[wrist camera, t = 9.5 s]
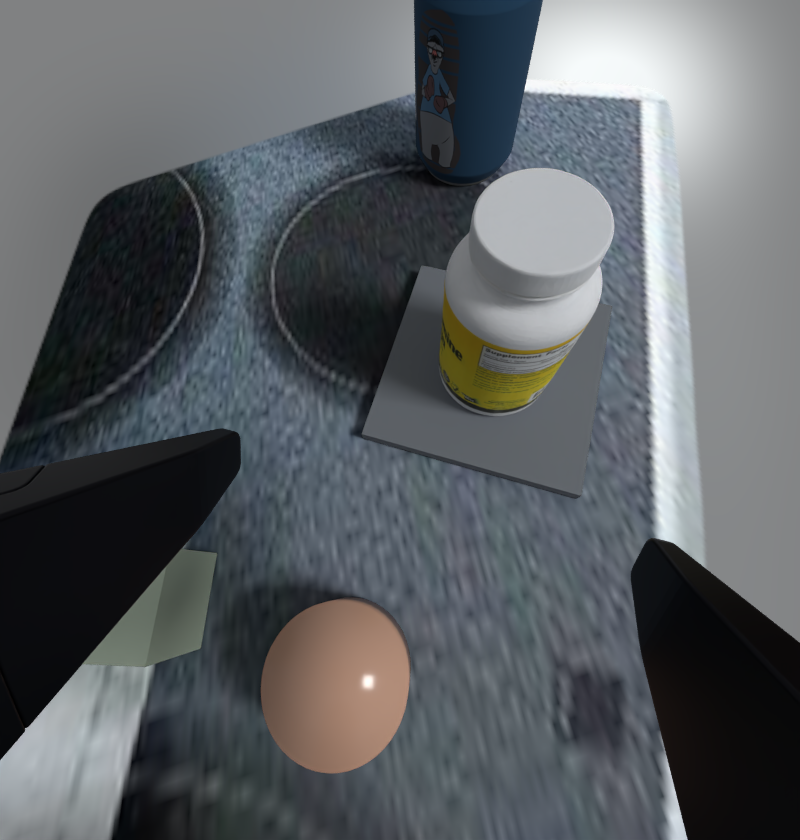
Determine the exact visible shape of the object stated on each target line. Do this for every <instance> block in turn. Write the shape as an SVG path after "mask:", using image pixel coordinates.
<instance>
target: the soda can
mask: <svg viewBox="0 0 800 840" xmlns="http://www.w3.org/2000/svg"><path fill="white" fill-rule="evenodd" d="M542 2H543V0H414V20H415V21H414V22H415V23H414V25H415V106H416V148H417V151H418V154H419V156H420V158H421V160H422V162H423V163H424V165H425V166H426V167H427V169H428V170H429V172H430V173H431V174H432V175H433V176H434V177H435V178H437V179H438V180H440V181H442V182H444V183H447V184H450V185H455V186H469V185H474V184H478V183H481V182H483V181H485V180H487V179H488V178H489V177H491V176H492V175H493V174H494V173H495V172H496V171H497V170H498V169H499V168H500V167H501V165H502V164H503V163H504V162H505V161H506V159H507V158H508V156H509V155H510V153H511V150H512V147H513V142H514V137H515V132H516V127H517V123H518V118H519V113H520V108H521V103H522V98H523V94H524V89H525V84H526V79H527V74H528V70H529V65H530V60H531V54H532V50H533V45H534V41H535V35H536V31H537V26H538V21H539V16H540V11H541V7H542Z"/></svg>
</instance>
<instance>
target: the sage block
mask: <svg viewBox="0 0 800 840" xmlns="http://www.w3.org/2000/svg"><path fill="white" fill-rule="evenodd" d="M216 557H217V553H212V552H203V551H194V550H185V549H181V550H180V551H179V552H178V553H177V554H176V556H175V557H174V558H173V559H172V560H171V561H170V563H169V564H168V565H167V566H166V567H165V568H164V570H163V571H162V572H161V573H160V574H159V575H158V577H157V578H156V579H155V580H154V581H153V582H152V584H151V585H150V586H149V587H148V588H147V589H146V591H145V592H144V593H143V594H142V595H141V596H140V598H139V599H138V600H137V601H136V602H135V603H134V605H133V606H132V607H131V608H130V609H129V610H128V611H127V613H126V614H125V615H124V616H123V617H122V618H121V620H120V621H119V622H118V623H117V624H116V625H115V627H114V628H113V629H112V630H111V631H110V632H109V634H108V635H107V636H106V637H105V638H104V639H103V641H102V642H101V643H100V644H99V645H98V646H97V648H96V649H95V650H94V651H93V652H92V653H91V655H90V656H89V657H88V658H87V659H86V660H85V662H84V663H83V664H90V665H113V666H136V667H146V666H149V665H153V664H156V663H159V662H162V661H165V660H168V659H171V658H174V657H177V656H180V655H183V654H186V653H189V652H192V651H195V650H198V649H201V643H202V638H203V632H204V626H205V620H206V614H207V609H208V603H209V597H210V591H211V586H212V580H213V574H214V568H215V562H216Z"/></svg>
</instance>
